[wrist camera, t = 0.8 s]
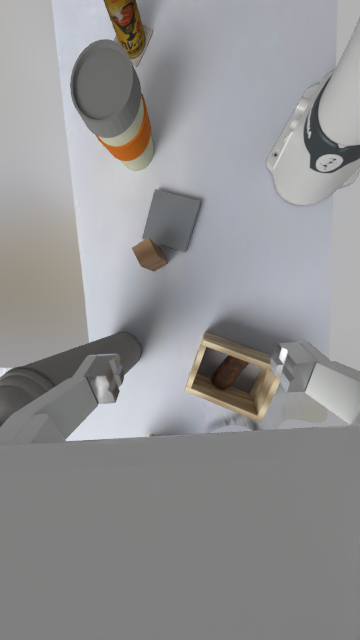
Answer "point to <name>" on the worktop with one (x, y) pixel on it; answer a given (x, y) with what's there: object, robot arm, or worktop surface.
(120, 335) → the canister
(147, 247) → the walnut block
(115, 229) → the worktop surface
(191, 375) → the bamboo organizer
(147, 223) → the slate coaster
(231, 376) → the brown rounded bar
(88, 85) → the reusable coffee cup
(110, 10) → the condiment
